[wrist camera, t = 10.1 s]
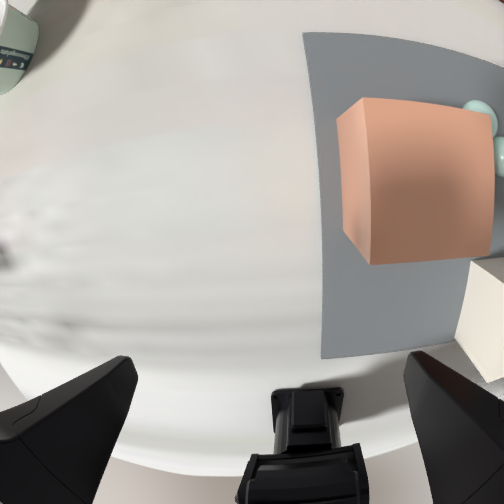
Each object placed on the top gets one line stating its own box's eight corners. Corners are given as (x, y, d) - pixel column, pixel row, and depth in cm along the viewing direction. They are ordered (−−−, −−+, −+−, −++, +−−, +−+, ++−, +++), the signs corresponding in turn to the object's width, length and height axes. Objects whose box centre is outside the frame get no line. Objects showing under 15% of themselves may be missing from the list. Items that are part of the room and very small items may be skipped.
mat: (510, 323, 19) (512, 325, 18) (320, 356, 22) (321, 359, 21) (522, 78, 12) (525, 77, 11) (302, 34, 14) (302, 32, 14)
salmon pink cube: (436, 226, 17) (489, 255, 11) (343, 230, 18) (369, 265, 12) (434, 124, 15) (490, 115, 9) (336, 119, 16) (362, 97, 10)
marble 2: (503, 176, 15) (526, 180, 12) (478, 173, 15) (502, 177, 12) (501, 139, 14) (524, 139, 11) (476, 134, 14) (500, 132, 11)
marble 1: (483, 144, 14) (507, 144, 12) (455, 140, 15) (478, 138, 12) (479, 106, 14) (502, 101, 11) (450, 99, 14) (472, 93, 11)
